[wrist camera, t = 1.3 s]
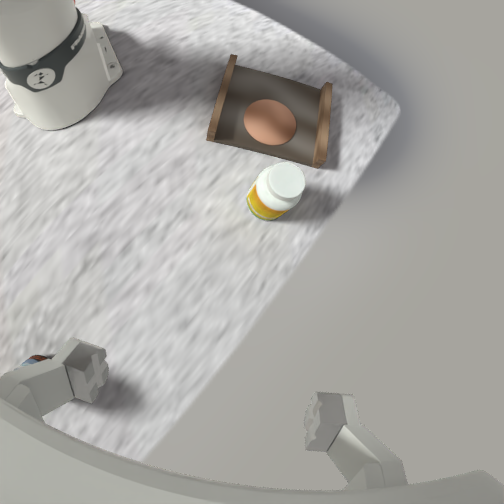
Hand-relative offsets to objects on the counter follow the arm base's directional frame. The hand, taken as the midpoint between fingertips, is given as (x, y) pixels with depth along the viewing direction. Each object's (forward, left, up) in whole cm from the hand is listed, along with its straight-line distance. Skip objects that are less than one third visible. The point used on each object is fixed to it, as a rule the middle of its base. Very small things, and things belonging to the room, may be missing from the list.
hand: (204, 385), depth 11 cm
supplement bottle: (-11, +13, -28) cm, 33 cm away
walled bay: (-24, +18, -27) cm, 41 cm away
